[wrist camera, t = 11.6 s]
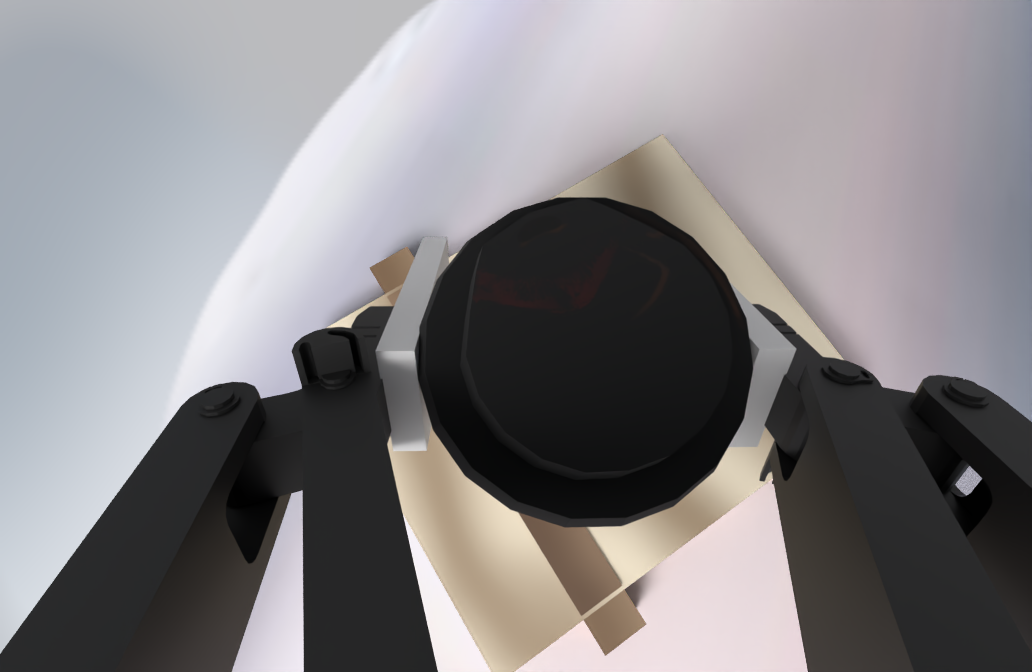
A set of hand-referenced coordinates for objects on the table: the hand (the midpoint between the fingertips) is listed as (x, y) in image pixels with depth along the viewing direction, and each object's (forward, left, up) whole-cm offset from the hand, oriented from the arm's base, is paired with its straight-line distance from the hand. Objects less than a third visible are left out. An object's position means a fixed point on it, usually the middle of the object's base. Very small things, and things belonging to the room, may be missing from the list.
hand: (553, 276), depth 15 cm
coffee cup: (+2, +3, -4) cm, 5 cm away
